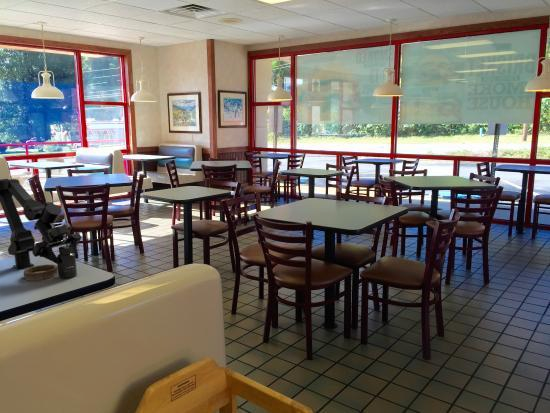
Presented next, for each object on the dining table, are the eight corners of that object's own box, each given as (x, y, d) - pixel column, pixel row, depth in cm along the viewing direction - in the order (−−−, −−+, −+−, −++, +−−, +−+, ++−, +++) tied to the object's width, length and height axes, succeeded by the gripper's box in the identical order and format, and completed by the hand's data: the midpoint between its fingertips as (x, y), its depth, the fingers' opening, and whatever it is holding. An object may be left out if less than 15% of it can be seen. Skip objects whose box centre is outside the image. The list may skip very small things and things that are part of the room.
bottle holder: (19, 276, 187) (18, 270, 186) (49, 269, 196) (49, 262, 195) (32, 282, 179) (31, 275, 179) (63, 274, 188) (62, 267, 188)
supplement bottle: (70, 279, 181) (67, 249, 179) (54, 278, 183) (51, 249, 181) (81, 274, 188) (78, 245, 186) (66, 273, 189) (62, 244, 187)
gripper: (32, 222, 176) (53, 254, 172) (76, 213, 191) (96, 242, 187) (23, 240, 181) (43, 272, 177) (66, 230, 197) (86, 259, 193)
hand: (68, 260), depth 184 cm, fingers open, 8 cm apart
